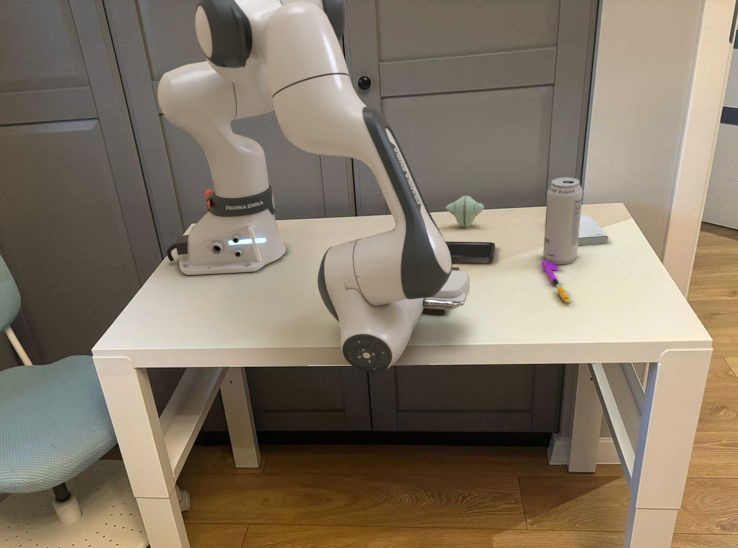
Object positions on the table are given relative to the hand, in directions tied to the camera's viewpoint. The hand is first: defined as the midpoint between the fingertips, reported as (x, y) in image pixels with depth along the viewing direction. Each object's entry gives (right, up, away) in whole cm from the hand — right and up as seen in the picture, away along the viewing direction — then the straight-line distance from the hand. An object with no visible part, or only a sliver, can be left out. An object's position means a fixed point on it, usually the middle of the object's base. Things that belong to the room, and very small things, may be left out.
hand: (415, 265), depth 121 cm
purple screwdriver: (+26, -3, +5) cm, 27 cm away
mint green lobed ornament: (+15, +12, +32) cm, 37 cm away
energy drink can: (+29, +3, +14) cm, 32 cm away
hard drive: (+36, +9, +23) cm, 44 cm away
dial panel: (+2, -5, +7) cm, 8 cm away
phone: (+10, +4, +20) cm, 23 cm away
